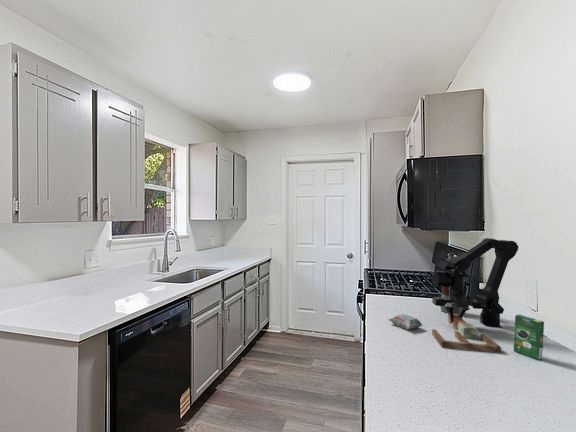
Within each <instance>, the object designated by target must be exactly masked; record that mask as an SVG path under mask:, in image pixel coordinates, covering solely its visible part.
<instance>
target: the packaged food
mask: <svg viewBox="0 0 576 432" xmlns="http://www.w3.org/2000/svg"><path fill="white" fill-rule="evenodd" d="M387 321H389V322H391V323H392V324H393V325H395V326H398V327H400V328H403V329H405V330H412V329H413V330H414V329H418V328H420V327H423V323H422V322H421V321H420V320H419V319H418V318H415V317H413V316H411V315H408V314H404V313H400V314H397V315H395V316H393V317H390V318H388V319H387Z"/></svg>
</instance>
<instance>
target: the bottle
mask: <svg viewBox="0 0 576 432" xmlns="http://www.w3.org/2000/svg"><path fill="white" fill-rule="evenodd" d="M453 257H455V253H453V252H449V253H448V261H449V260H450V259H451V258H453ZM448 261H447V262H448ZM451 271H452V270H451ZM440 288H441V295H440V297H442V298H443V299H445V300H449V299H448V297H449V290H448V289H449V287H440ZM453 303H454V302H453ZM439 307H440V312H442V313H443V312H444V314H446V313H448V311H447V309H446V308H445V307H444V306H439ZM452 307H453V308H454V309H453V314H458V307H456V306H455V305H452Z"/></svg>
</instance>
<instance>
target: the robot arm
mask: <svg viewBox="0 0 576 432" xmlns="http://www.w3.org/2000/svg"><path fill="white" fill-rule="evenodd" d="M491 249H494V255H495V259H494V262H493V264H492V267H491V270H490V273H489V275H488V279H487V281H486V283H485V286H484V287H483V288H480V287H479V288H478V290H477V292H476V294H475V299H474V297H473V296H471V295H466V291H465V278H469V277H470V276H469V275H468V274H467V272H466V271H467V270H468V269H469V268H470V267H471V265H472V263H473V262H474V261H475V260H477V259H479V258H480V257H482V256H483V255H484V254H486V253H487V252H488V251H490V250H491ZM518 250H519V245H518V243H517V242H516V241H514V240H506V239H500V240H499V239H495V238H489V237H486V238H483V239H482V241H480V242H479V243H478V244H476V245H474V246H473V247H472V248H470V249H469V250H467V251H466V252H464V253H463V254H459V255H456V256H454V257H453V258H451V259H450V260H449V261H447V264H446V265H445V267H443V269H442V270H441V271H438V270H434V273H433V274H432V277H431V284H432V285H433V287H436V288H437V287H438V288H441V287H449V289H448V290H449V297H448V299H449V300H445V299H443V298H442V297H441V296H433V297H432V298H431V299H432V301H431V302H432V304H433V305H435V306H437V307H440V306H444V307H445V308H446V309H447V311H448V314H449V316H450V319H451V321H452V322H453V309H454V308H453V307H452V305H455V306H456V307H458V316H459V317H461V318H462V319H463V316H464V315H465V313H466V312H467V311H470V310H471V308H470V307H472V308H473V309H475V310H476V309H477V310H481V312H480V321H479V322H480V323H481V324H483V325H484V326H485V327H494V328H502V325H501V324H500V322H501V314H503V313H504V311H505V309H504V307H503V306H502V305H501V304H500V303H499V302H500V295H499V289H500V286H501V283H502V280H503V278H504V275H505V272H506V269H507V267H508V264H509V263H510V262H509V261H511V260H512V259H513V258H514V257H515V256H516V255H517V253H518ZM451 270H452V271H451ZM453 302H454V303H453ZM448 314H447V315H448Z"/></svg>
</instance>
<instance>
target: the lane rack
mask: <svg viewBox="0 0 576 432" xmlns="http://www.w3.org/2000/svg"><path fill="white" fill-rule="evenodd" d="M431 335H432V336H433V338H434V339H435V340H436V342H437V343H438V344H439V346H440V347H441V348H446V347H447V348H449V349H456V348H459V349H458V350H466V349H467V350H466V351H477V350H478V351H479V352H489V353H499V354H501V353H502V346H501V345H499V344H498V343H497V342H496V341H495V340H493V339H491V337H489V336H488V335H487V334H485V333H480V340H481V341H483V342H484V343H475V342H470V341H469V340H468V338H465V337H464V336H463V335H462V334H461V333H460V332H458V330H457V331H456V330H455V331H454V337H455V338H456V340H457V341H454V340H445V339H444V337H443V336H442V335H441V334H440V333H439V331H438V330H437V329H431ZM458 340H459V341H460V342H459V341H458Z"/></svg>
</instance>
